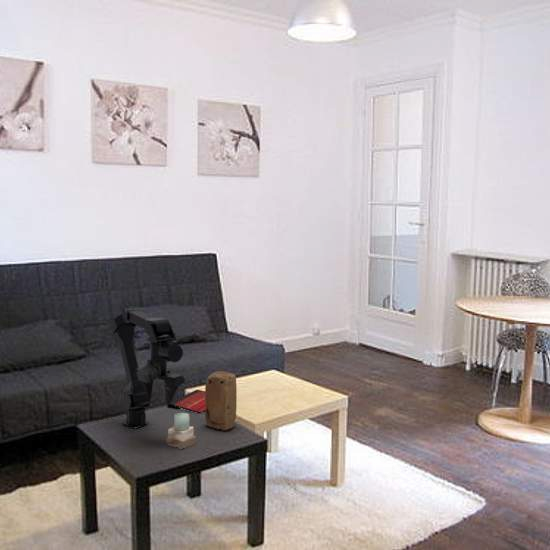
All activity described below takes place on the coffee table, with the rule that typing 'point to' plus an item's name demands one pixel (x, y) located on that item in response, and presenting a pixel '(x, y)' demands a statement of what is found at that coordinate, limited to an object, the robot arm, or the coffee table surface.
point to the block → (221, 400)
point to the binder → (191, 401)
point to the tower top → (180, 434)
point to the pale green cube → (181, 421)
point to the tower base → (181, 442)
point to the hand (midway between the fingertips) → (158, 400)
